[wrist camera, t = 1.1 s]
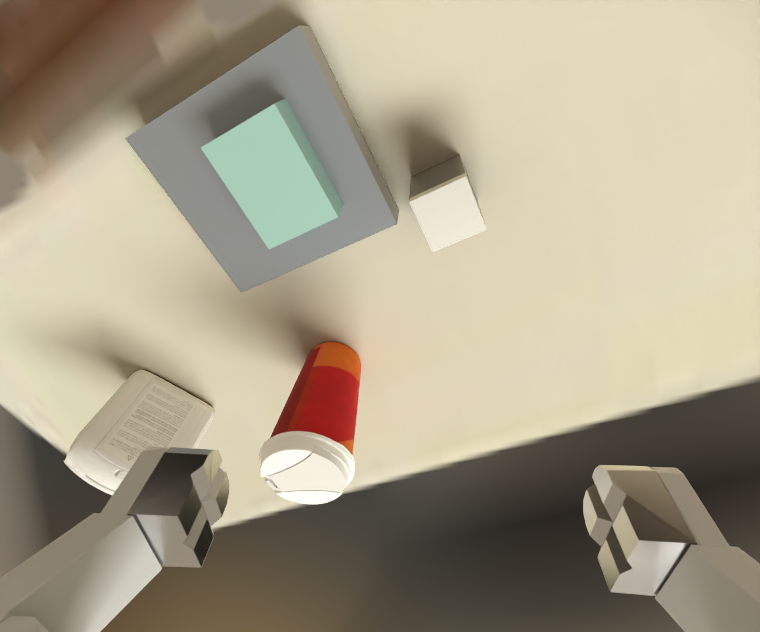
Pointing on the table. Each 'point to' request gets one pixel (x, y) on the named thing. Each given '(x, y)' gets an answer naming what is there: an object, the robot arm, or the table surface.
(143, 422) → the book
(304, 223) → the mint green block
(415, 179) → the plug
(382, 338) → the table surface
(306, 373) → the paper cup
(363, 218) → the socket
